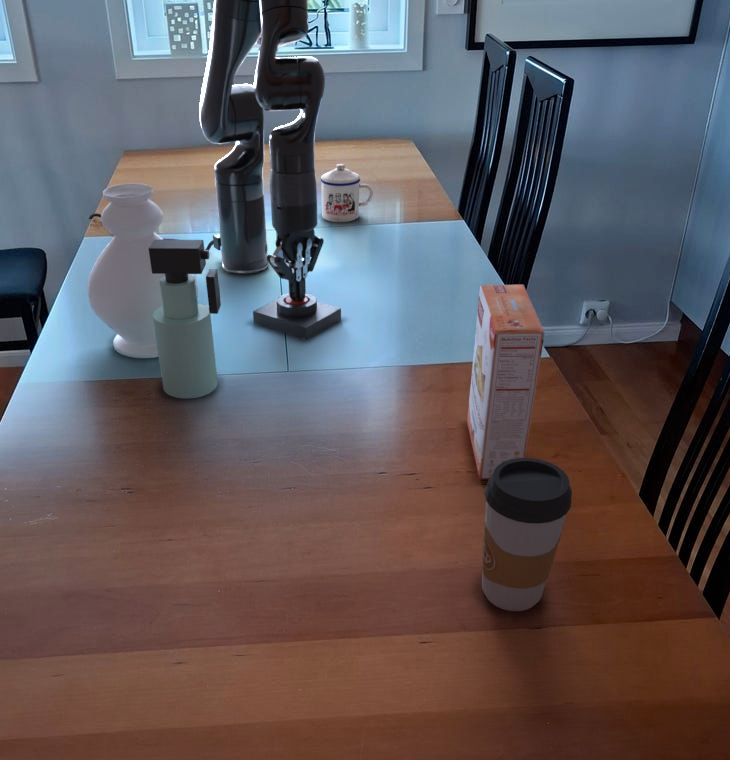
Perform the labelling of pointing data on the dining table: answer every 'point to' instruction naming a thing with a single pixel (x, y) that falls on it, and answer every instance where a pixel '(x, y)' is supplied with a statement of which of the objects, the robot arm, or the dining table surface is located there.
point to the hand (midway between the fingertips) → (297, 299)
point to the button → (293, 302)
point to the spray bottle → (183, 320)
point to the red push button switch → (297, 316)
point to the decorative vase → (128, 270)
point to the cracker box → (503, 375)
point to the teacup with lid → (342, 195)
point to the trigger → (213, 291)
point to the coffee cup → (522, 530)
